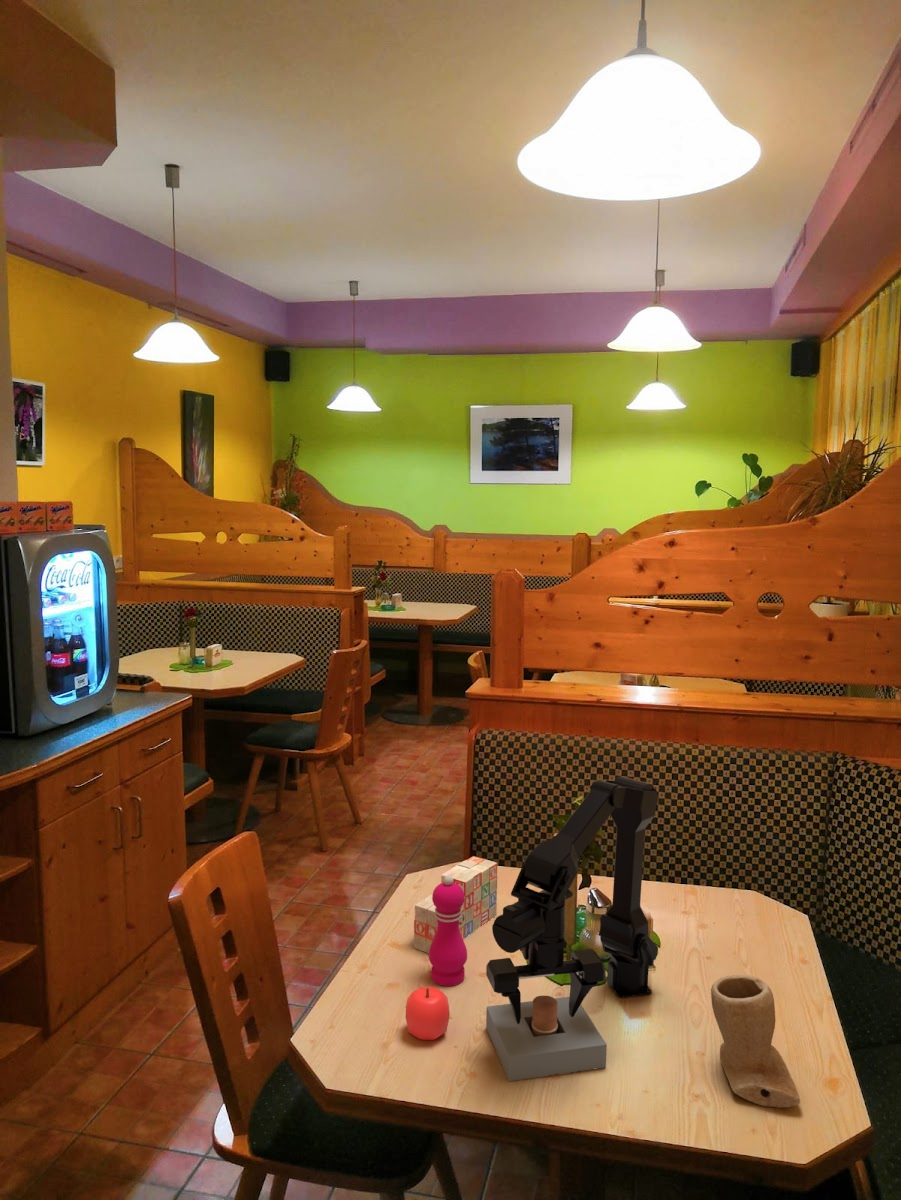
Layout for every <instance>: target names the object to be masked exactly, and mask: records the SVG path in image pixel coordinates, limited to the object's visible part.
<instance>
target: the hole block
mask: <svg viewBox="0 0 901 1200" xmlns="http://www.w3.org/2000/svg"><path fill="white" fill-rule="evenodd" d="M569 997H570V996H562V997H553V998H554V999H556V1001H557V1024H558V1026H557V1034H551V1035H544V1036H536V1037H534V1036H533V1034H532V1020H533V1000H530V1001H522V1002H521V1019H520V1024H517V1022H516V1020H515V1017H514V1013H513V1010H512V1007H511V1004H510V1003H507V1004H506V1003H505V1004H497V1005H496V1004H495V1005H488V1006H486V1016H485V1017H486V1020H485V1021H486V1023H485V1024H486V1025H485V1026H486V1027H485V1028H486V1032H487V1034H488V1036H489V1038H490V1040H491V1043H492V1045H493V1048H494V1050H495V1052H496V1054H497V1056H498V1059H499V1062H500V1064H501V1066H502V1068H503V1070H504V1073H505V1075H506V1078H507V1080H508V1082H514V1081H523V1080H530V1079H537V1078H542V1077H543V1078H544V1076H545V1077H550V1076H549V1075H552V1076H556V1075H555V1074H559V1075H564V1074H563V1073H566V1074H570V1073H569V1072H573V1073H578V1072H577V1071H581V1072H583V1071H582V1070H588V1069H594V1068H602V1069H605V1068H604V1067H606V1068H607V1047H608V1046H607V1043H606V1042H605V1040H604V1038H603V1037H602V1035H601V1034H600V1032H599V1030H598V1029H597V1027H596V1026H595V1024H594V1022H593V1021H592V1019H591V1017H590V1015H588V1012H587V1011H586V1009H585V1008H584V1007H583V1005H582V1003H581V1004H580V1006H579V1008H578V1010H577V1011H576V1013H575V1015H574V1017H571V1016H570V1014H569ZM588 1071H589V1070H588Z"/></svg>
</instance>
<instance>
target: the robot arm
mask: <svg viewBox="0 0 901 1200" xmlns="http://www.w3.org/2000/svg"><path fill="white" fill-rule="evenodd" d="M658 803H659V794H658V790H657V788H655V786H654V785H653V784H651V783H650V782H649V783H648V782H645V781H643V780H642V781H641V780H638V779H633V778H632V777H631V778H630V777H628V776H622V775H621V776H618V777H616V778H615V779H614V780H613V779H603V780H602V779H601V780H600V779H599V780H594V781H593V783H592V784H591V786H590V788H589V793H587V795H586V796H585V797H584V799H583V800H582V802H581V803H580V804H579V805H578V806H577V808H576V809H575V810H574V812H573V813H572V815H570V817H569V818H568V820H567V821H566V822H565V824H564V825H563V826H562V828H561V829H560V830H559V831H558V832H557V833H556V835H554V836H553V837H552V838H549V839H547V840H544V841H541V842H540V843H539V844H538V845H537V846H535V848H534V849H532V851H531V852H530V853H529V854H528V855H527V856H526V858H525V859H524V862H523V864H522V866H521V869H520V871H519V873H518V876H517V878H516V880H515V882H514V885H513V887H512V889H511V892H510V896H512V897H514V898H515V899H518V900H517V901H516V902H513V903H512V904H509V905H506V906H503V908H502V914H500V915H499V916H496V917H495V918H494V921H493V924H492V926H491V929H492V934H493V935H492V936H493V938H494V941H495V943H496V944H497V945H498V946H499V947H498V948H500V949H501V950H503V951H504V952H505V953H508V954H509V953H510V954H513V953H514V954H515V953H516V952H518V951H520V952H522V956H523V959H524V960H525V961H528V964H523V965H522V964H521V965H515V964H514V963H513V960H512V959H511V958H510V957H506V958H498V959H497V958H496V959H490V960H489V961H488V963H487V964H486V968H485V969H486V970H485V972H486V973H485V974H486V977H487V980H488V982H489V983H490V986H491V988H492V990H493V992H494V993H496V994H501V996H502V997H503V998H508V1001H509V1004H511V1007H512V1010H513V1013H514V1017H515V1020H516V1022H517V1024H520V1019H521V1001H522V999H521V991H520V989H519V987H520V980H526V979H534V978H535V979H536V978H542V977H552V976H556V975H565V974H569V975H570V977H569V978H570V986H569V996H568V997H569V1014H570V1016H571V1017H574V1015H575V1013H576V1011H577V1010H578V1008H579V1006H580V1004H581V1005H582V1003H583V1001H584V999H585V998H586V996H587V995H588V994H589V993H590V991H591V990H592V988H593V987H597V986H598V985H599V984H598V983H599V982H600V983H601V982H604V981H605V980H606V982H607V984H608V985H609V987H610V988H611V989H612V990H613V992H614V993H615V995H617V997H618V998H629V997H638V996H644V995H652V991H653V990H652V989H651V988H650V986H649V967H651V966H652V967H653V966H654V964H655V963H654V962H655V960H656V959H657V956H658V951H659V947H658V945H657V944H656V943H655V942H654V941H653V940H652V939H651V938H650V936H649V935H650V934H649V921H648V919H647V917H646V915H645V913H644V911H643V909H642V907H641V899H642V898H641V895H642V880H643V879H642V878H643V867H644V866H643V864H644V851H645V850H644V849H645V848H644V846H645V831H646V828H647V827H648V825H649V824H650V822H651V821H652V820H653V819H654V818H655V816H656V811H657V805H658ZM609 817H611V819H612V821H613V822H614V825H615V827H616V837H615V850H614V851H615V852H614V854H615V855H614V870H613V886H612V888H613V889H612V890H613V891H612V905H610V907H609V908H608V910H607V911H606V912H605V913H604V914H601V916H600V918H599V921H600V922H599V924H600V927H599V933H598V936H600V937H599V938H600V943H601V945H602V950H603V952H604V953H608V954H610V960H608V962H607V970H606V966H605V963H604V962H603V960H602V959H601V957H600V956H599V955H598V954H597V952H596V951H595V950H594V949H593V948H586V949H578V950H577V949H576V950H572V952H570V959H565V958H564V957H565V949H567V943H568V942H567V941H566V939H565V920H566V918H565V917H566V900H568V899H570V898H572V897H573V896H574V892H573V891H571V890H570V887H571V886H572V884H573V882H574V880H575V879H576V876H577V875H578V873H579V859H580V857H581V856H582V854H583V853H584V851H585V850H586V848H587V847H588V846H589V844H590V843H591V842H592V840H593V839H594V838H595V836H596V835H597V834H598V832H599V831H600V830H601V828H602V827H603V825H605V823H606V822H607V820H608V818H609ZM528 885H530V886H533V887H535V888H538V889H540V891H538V890H537V891H536V890H535V889H531V888H529V887H527V886H528ZM606 971H607V976H606Z"/></svg>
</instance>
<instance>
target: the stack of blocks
mask: <svg viewBox="0 0 901 1200" xmlns="http://www.w3.org/2000/svg"><path fill="white" fill-rule="evenodd" d="M446 876H451V877H452V878H453V883H456V884H458V885H459V886H460V887H461V888H462V889H463V891H464V897H465V899H464V903H463V905H462V906H461V909H462V912H461V914H462V917H461V918H460V919H459V930H460V934H461V936H462V939H464V940H465V939H466V938H467V937H469V936H470V935H471V933H472V932H473V933H474V932H475V930H476V929H477V930H478V928H479V927H480V928H482V927H483V926H485V925H486V924H488V923H489V922H490V921H492V920H493V919H495V918H496V917H497V909H498V908H497V907H498V905H497V897H498V895H497V894H498V893H497V891H498V862H495V861H492V860H488V859H485V858H481V857H477V856H475V855H473V856H471V857H470V858H468V859H466V860H463V861H462V862H459V863H458V864H457V865H455V866H454V867H452V868H450V869H448V870H447V871H445V872H444V873H442V874H441V875H440V877H441V878H440V879H441V880H440V881H441V882H440V884H441V883H443V882H444V878H445V877H446ZM432 895H433V893H432V894H430V895H429V896H427V897H426V898H423V900H420V901H419V902H417V903H416V904H415V905H414V919H413V920H414V921H413V937H414V938H413V941H414V942H413V948H414V949H415V950H416V949H417V950H419V951H422V952H424V953H427V954H429V950H430V946H431V944H432V942H433V940H434V938H435V935H436V933H437V927H438V922H437V918H436V917H435V908H436V907H435V905H434V903H433V900H432ZM495 916H496V917H495ZM494 917H495V918H494ZM492 918H493V919H492ZM491 919H492V920H491ZM488 921H489V922H488ZM485 923H486V924H485ZM484 924H485V925H484ZM482 925H483V926H482ZM481 926H482V927H481ZM480 928H479V929H480ZM477 930H476V931H477ZM473 933H472V934H473ZM469 934H470V935H469ZM468 935H469V936H468Z"/></svg>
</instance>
